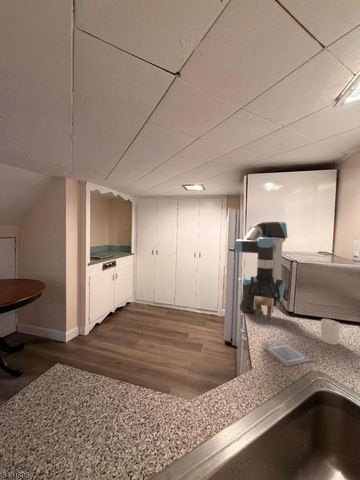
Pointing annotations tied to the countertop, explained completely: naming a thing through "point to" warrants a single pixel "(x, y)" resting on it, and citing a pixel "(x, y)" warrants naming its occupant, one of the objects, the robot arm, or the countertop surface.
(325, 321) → the white cup
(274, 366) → the countertop surface
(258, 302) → the stool
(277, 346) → the mat
